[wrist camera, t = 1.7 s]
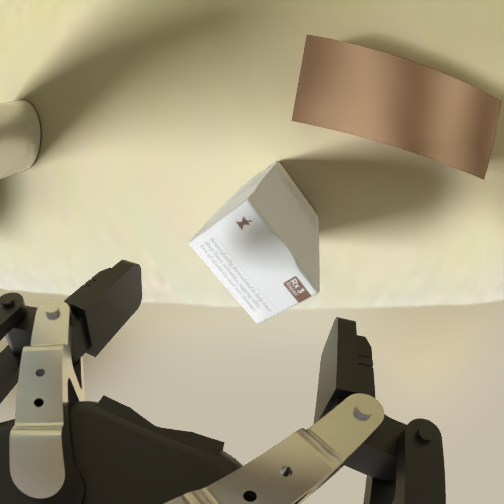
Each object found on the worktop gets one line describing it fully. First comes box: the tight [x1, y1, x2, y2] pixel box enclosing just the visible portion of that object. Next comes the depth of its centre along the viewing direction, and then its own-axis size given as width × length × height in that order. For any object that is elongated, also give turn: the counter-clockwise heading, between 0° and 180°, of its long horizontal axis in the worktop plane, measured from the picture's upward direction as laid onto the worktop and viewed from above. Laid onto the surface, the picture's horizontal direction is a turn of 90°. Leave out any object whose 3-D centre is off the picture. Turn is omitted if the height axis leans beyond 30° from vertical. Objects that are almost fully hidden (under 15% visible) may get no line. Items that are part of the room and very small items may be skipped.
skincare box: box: [189, 161, 320, 324], centre depth 21 cm, size 6×4×12 cm
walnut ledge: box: [292, 35, 501, 179], centre depth 19 cm, size 14×6×5 cm, turn 80°
